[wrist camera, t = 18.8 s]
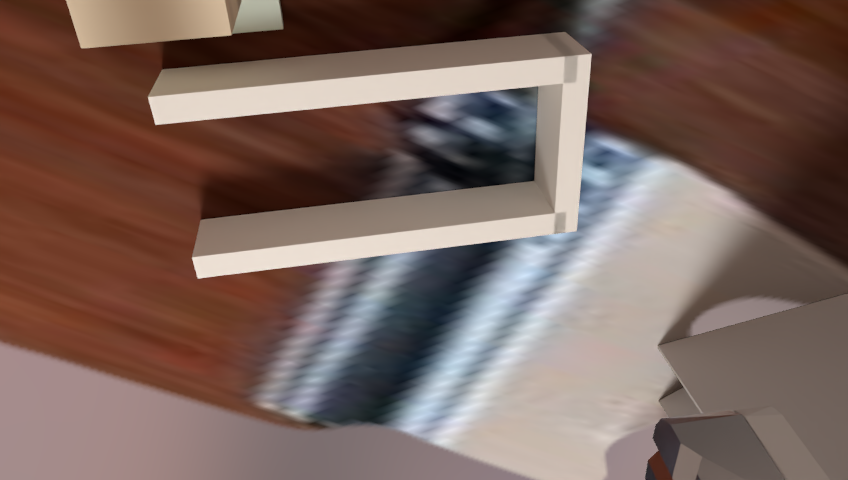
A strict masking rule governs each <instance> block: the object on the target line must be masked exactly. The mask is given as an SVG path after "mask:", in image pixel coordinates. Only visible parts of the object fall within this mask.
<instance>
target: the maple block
mask: <svg viewBox="0 0 848 480" xmlns="http://www.w3.org/2000/svg"><path fill="white" fill-rule="evenodd" d="M66 1H67V5H68V8H69V11H70V14H71V17H72V20H73V24H74V27H75V30H76V33H77V36H78V40H79V43H80V46H81V48H92V47H104V46H115V45H127V44H138V43H150V42H161V41H173V40H184V39H196V38H207V37H219V36H230V35H232V32H233V29H234V26H235V22H236V19H237V15H238V12H239V8H240V5H241V1H242V0H66Z"/></svg>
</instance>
